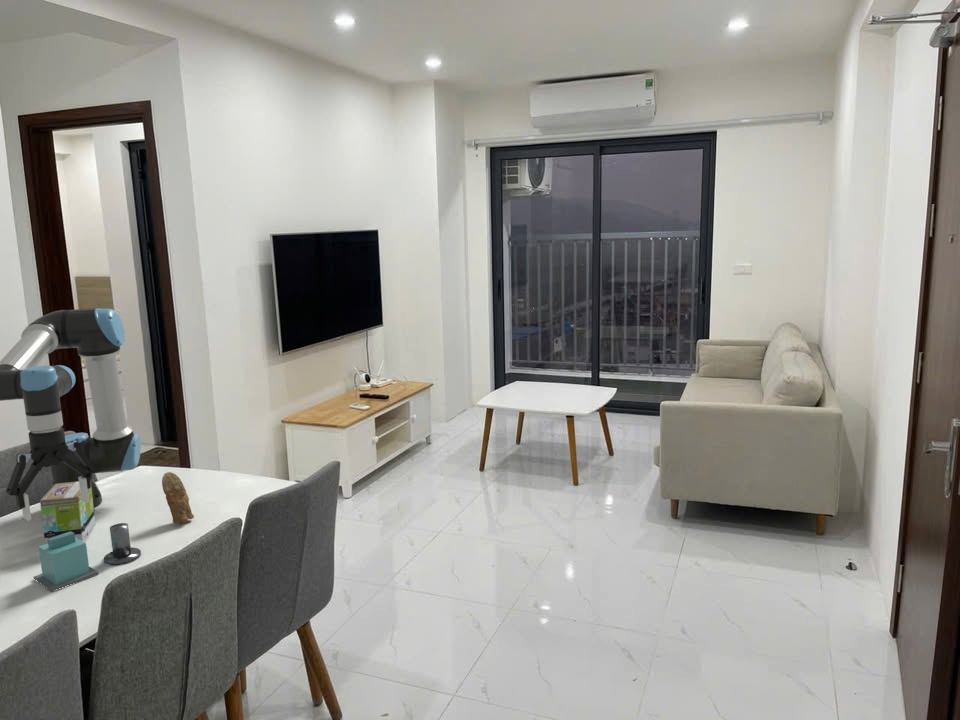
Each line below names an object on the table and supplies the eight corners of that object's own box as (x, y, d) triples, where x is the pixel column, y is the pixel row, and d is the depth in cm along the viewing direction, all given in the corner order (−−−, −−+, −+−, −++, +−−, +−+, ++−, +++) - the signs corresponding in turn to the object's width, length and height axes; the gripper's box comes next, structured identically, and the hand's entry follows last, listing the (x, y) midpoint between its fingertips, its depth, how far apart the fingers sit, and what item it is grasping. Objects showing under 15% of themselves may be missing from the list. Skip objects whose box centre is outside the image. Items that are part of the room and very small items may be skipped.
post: (97, 559, 191) (93, 528, 189) (130, 547, 198) (127, 517, 196) (114, 568, 185) (110, 536, 184) (147, 555, 192) (143, 524, 191)
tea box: (84, 545, 200) (78, 496, 197) (44, 550, 197) (37, 500, 194) (96, 525, 214) (90, 478, 211) (59, 529, 211) (53, 482, 209)
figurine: (185, 526, 211) (180, 478, 209) (161, 525, 213) (156, 477, 210) (201, 515, 219) (197, 469, 217) (178, 514, 221) (173, 468, 218)
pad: (33, 579, 180) (33, 576, 180) (78, 563, 189) (78, 560, 189) (52, 591, 174) (52, 588, 173) (98, 574, 182) (98, 571, 182)
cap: (75, 563, 187) (70, 526, 185) (89, 572, 182) (84, 534, 180) (42, 575, 180) (37, 537, 179) (56, 584, 176) (50, 545, 174)
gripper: (91, 415, 186) (100, 491, 190) (-19, 439, 167) (-5, 523, 171) (104, 419, 182) (114, 497, 186) (-6, 444, 162) (7, 530, 166)
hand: (57, 510), depth 178 cm, fingers open, 13 cm apart
